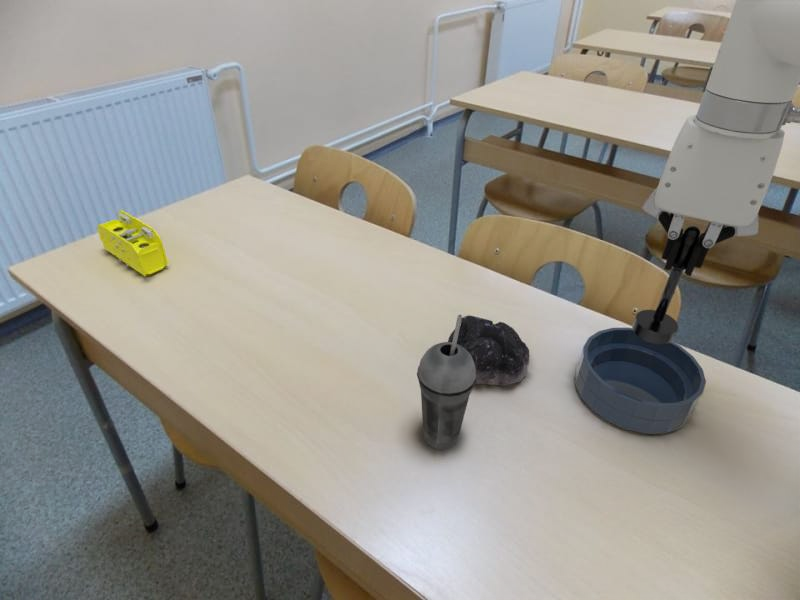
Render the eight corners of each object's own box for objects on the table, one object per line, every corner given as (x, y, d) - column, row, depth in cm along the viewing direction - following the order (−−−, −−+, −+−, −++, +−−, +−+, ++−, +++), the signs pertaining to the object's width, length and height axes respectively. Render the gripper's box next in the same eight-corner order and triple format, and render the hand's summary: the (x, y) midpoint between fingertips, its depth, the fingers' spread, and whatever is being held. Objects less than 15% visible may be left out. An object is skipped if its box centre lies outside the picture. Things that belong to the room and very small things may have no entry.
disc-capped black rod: (682, 339, 67) (730, 233, 58) (651, 348, 66) (695, 240, 57) (654, 316, 71) (694, 213, 62) (623, 324, 70) (660, 219, 61)
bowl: (716, 419, 73) (732, 388, 70) (622, 450, 68) (635, 419, 65) (636, 347, 85) (647, 318, 82) (553, 369, 81) (561, 340, 77)
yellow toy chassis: (172, 268, 102) (161, 231, 97) (144, 280, 99) (132, 242, 94) (130, 242, 110) (119, 206, 105) (104, 252, 107) (90, 215, 102)
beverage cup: (402, 431, 70) (406, 314, 59) (443, 407, 74) (454, 293, 62) (437, 468, 66) (449, 349, 54) (479, 440, 69) (498, 324, 57)
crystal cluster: (482, 327, 90) (481, 279, 84) (550, 360, 82) (555, 310, 76) (430, 368, 83) (425, 319, 77) (499, 409, 74) (499, 358, 69)
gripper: (829, 116, 52) (752, 271, 62) (661, 92, 58) (617, 238, 68) (837, 137, 46) (751, 303, 57) (651, 109, 52) (605, 263, 63)
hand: (678, 266), depth 63 cm, fingers closed on disc-capped black rod
